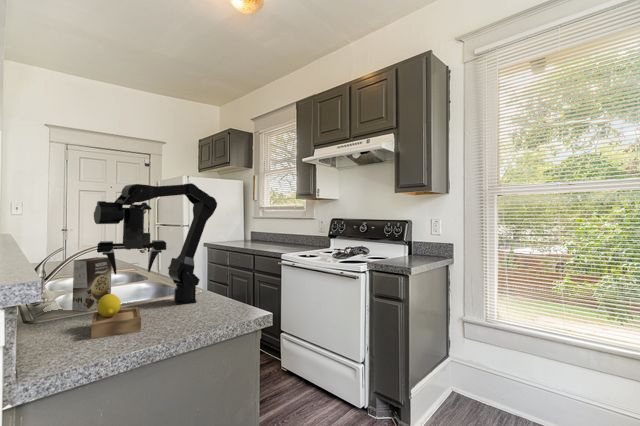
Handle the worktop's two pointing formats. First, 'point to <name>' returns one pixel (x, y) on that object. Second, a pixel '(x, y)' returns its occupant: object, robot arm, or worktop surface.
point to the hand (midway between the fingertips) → (132, 273)
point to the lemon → (108, 305)
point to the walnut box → (116, 323)
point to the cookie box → (90, 282)
